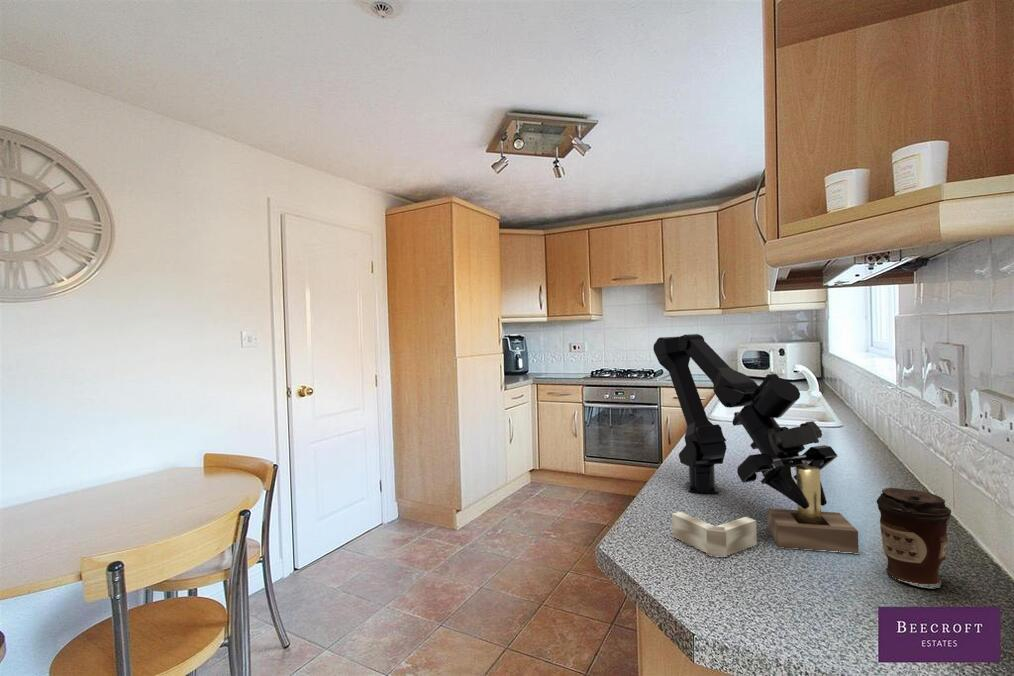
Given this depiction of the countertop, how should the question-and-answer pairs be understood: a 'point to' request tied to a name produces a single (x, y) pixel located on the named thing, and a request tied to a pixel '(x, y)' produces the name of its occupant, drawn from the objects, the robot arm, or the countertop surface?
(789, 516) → the bore block
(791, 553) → the countertop surface
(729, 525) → the v block
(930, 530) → the coffee cup
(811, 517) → the axle
